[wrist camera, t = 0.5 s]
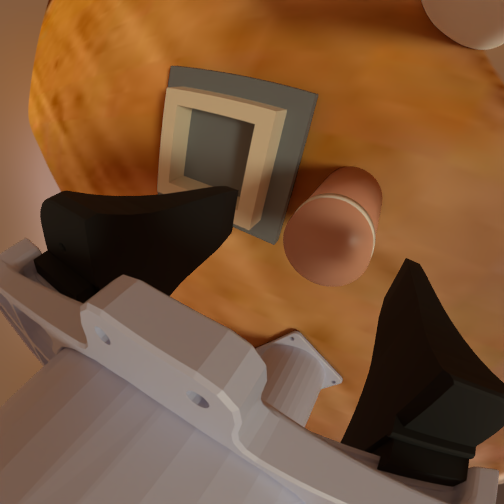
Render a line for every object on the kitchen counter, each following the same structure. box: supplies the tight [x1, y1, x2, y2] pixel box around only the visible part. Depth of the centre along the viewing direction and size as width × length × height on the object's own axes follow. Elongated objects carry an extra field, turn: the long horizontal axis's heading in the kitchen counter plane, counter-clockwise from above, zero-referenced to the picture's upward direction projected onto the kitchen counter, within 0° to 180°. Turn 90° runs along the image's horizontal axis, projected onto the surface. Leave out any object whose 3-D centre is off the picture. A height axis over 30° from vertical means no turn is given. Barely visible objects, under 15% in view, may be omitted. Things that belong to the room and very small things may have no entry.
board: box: [157, 66, 318, 245], centre depth 22 cm, size 12×12×3 cm
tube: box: [283, 167, 382, 286], centre depth 18 cm, size 4×4×8 cm
